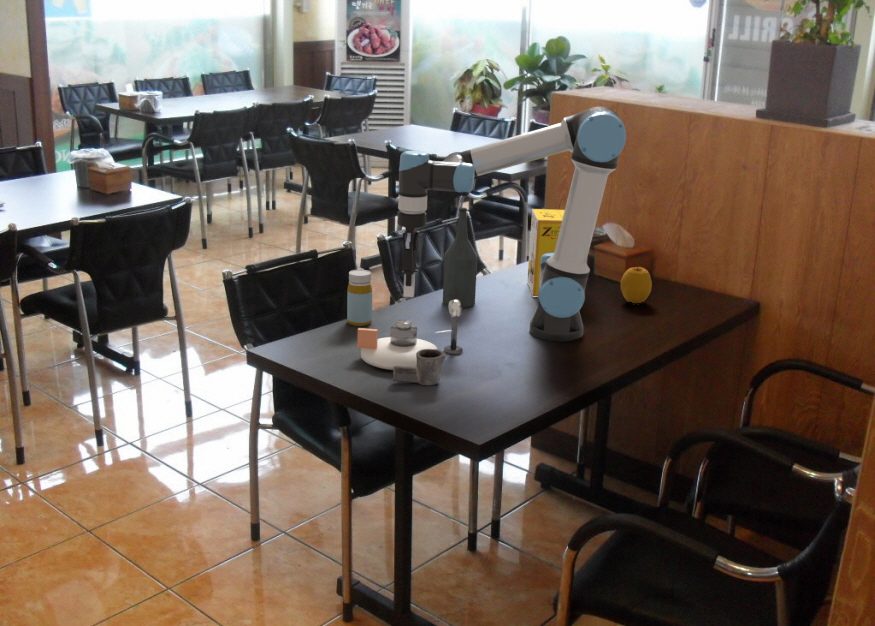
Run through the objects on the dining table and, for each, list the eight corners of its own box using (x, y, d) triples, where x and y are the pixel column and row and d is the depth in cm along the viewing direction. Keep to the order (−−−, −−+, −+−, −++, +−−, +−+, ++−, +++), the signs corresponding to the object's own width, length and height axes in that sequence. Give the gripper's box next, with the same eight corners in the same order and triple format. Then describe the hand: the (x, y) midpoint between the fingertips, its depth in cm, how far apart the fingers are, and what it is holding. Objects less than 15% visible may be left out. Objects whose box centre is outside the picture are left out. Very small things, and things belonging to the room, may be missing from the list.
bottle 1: (368, 328, 274) (368, 277, 269) (344, 325, 275) (344, 274, 271) (374, 320, 281) (375, 270, 276) (351, 317, 282) (351, 268, 277)
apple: (627, 295, 311) (630, 260, 307) (655, 302, 306) (659, 266, 302) (613, 303, 304) (617, 267, 300) (642, 309, 298) (646, 273, 295)
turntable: (442, 345, 260) (443, 322, 258) (432, 372, 241) (433, 348, 239) (365, 339, 262) (365, 316, 260) (349, 366, 243) (349, 342, 241)
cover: (418, 338, 259) (419, 319, 258) (414, 347, 253) (415, 327, 251) (392, 336, 260) (393, 317, 258) (388, 345, 254) (388, 325, 252)
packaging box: (583, 299, 307) (590, 221, 299) (532, 297, 306) (537, 220, 298) (576, 284, 322) (582, 210, 314) (527, 282, 322) (532, 208, 314)
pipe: (392, 378, 240) (392, 348, 237) (443, 378, 241) (444, 348, 238) (393, 388, 234) (393, 357, 231) (446, 388, 235) (447, 357, 233)
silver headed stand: (457, 347, 262) (459, 296, 257) (466, 353, 258) (468, 301, 253) (430, 351, 258) (432, 299, 254) (439, 357, 254) (441, 305, 250)
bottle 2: (481, 306, 296) (486, 210, 286) (454, 310, 291) (458, 213, 281) (463, 297, 304) (467, 203, 295) (436, 301, 299) (439, 205, 290)
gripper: (402, 204, 261) (399, 288, 269) (393, 215, 249) (390, 302, 257) (429, 206, 260) (425, 290, 268) (422, 217, 248) (418, 304, 256)
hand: (408, 296), depth 262 cm, fingers closed
